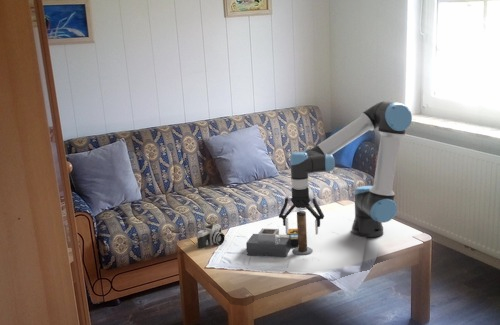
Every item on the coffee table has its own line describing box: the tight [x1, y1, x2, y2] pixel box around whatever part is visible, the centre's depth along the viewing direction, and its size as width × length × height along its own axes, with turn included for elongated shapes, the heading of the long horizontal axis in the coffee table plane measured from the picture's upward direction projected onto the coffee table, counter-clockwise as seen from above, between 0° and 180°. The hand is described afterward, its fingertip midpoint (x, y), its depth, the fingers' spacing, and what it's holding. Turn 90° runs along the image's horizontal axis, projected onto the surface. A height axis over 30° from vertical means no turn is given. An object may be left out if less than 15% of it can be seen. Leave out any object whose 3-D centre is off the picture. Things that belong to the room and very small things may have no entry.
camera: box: [196, 223, 226, 250], centre depth 253 cm, size 16×9×10 cm, turn 143°
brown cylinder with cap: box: [296, 210, 308, 252], centre depth 237 cm, size 4×4×18 cm
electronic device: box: [286, 228, 298, 247], centre depth 253 cm, size 8×16×3 cm, turn 175°
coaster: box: [292, 246, 314, 256], centre depth 239 cm, size 9×9×1 cm
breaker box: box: [245, 228, 292, 258], centre depth 241 cm, size 18×12×10 cm, turn 74°
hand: (301, 233), depth 238 cm, fingers open, 13 cm apart
